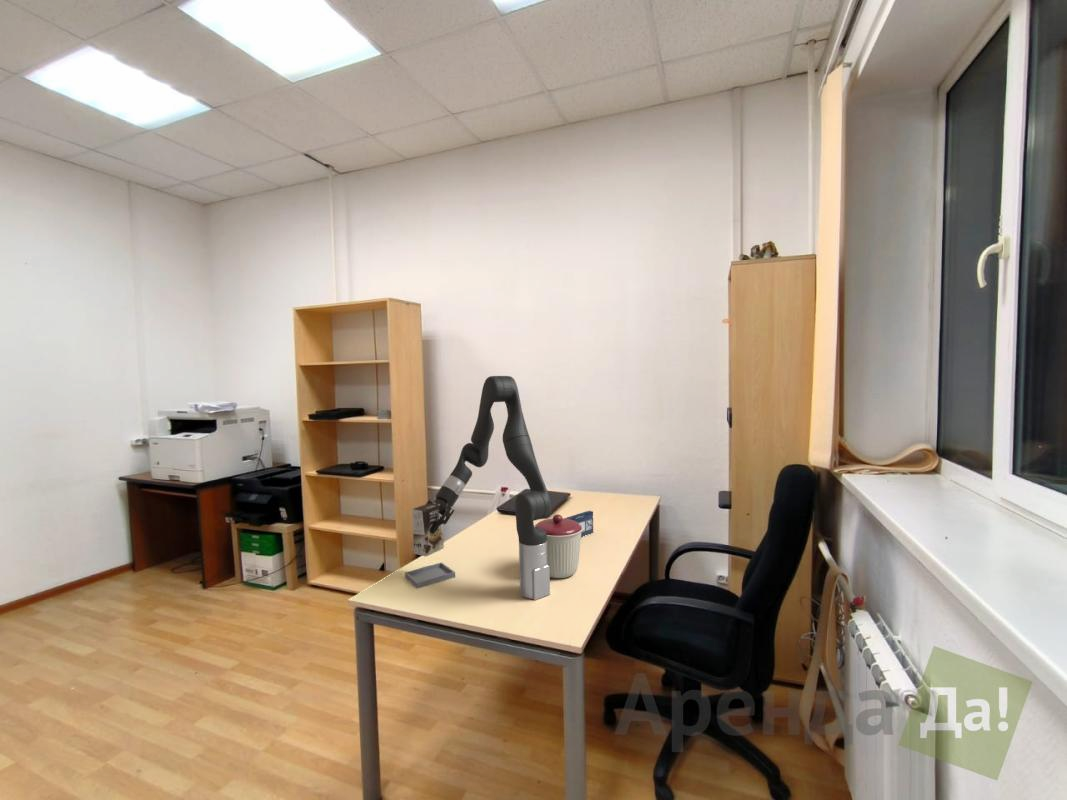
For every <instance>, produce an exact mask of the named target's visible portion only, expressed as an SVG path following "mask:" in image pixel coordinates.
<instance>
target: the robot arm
mask: <svg viewBox="0 0 1067 800" xmlns="http://www.w3.org/2000/svg"><path fill="white" fill-rule="evenodd" d="M480 395H481V397H480V402H479V407H478V414H477V419H476V422H475V425H474V428H473V432H472V434H471V437H470V441H471V442H467V443H466V444H464V446H462V448H461V451H460V455H459V458H458V460H457V463H456V465H455V467H454V468H453V470H452V471H451V473H450V474H449V475H448V477H447V478H445V479H446V480H445V481H444V482H443V484H442V485H441V487H440V488H439V489H438V491H437V492H436V494H435V500H434V501H432V500H431V499H428V500H427V502H426V503H425V505H426V504H429V503H433V504H438V505H440V504H441V505H442V506H441V508H439V510H438V512H437V514H436V522H434V523H433V525H432V526H431V528H430V529H429V531H430V532H431V533H433V534H434V533H435V532H436V531H437V529H438V527H439V526H440V525H442V524H443V525H446V524H447V523H448V521H449V520H450V518H451V517H452V515H453V514H454V512H455V510H454V508H452V507H454V505H455V503H456V502H457V500H458V499H459V498H460V496H461V494H463V491H464V489H465V488H466V485H467V484H468V482H469V481H470V479H471V478H472V476H473V471H472V470H471V469H470V467H468V466H467V464H466V462H467V463H469V464H471V465H472V466H475V467H476V468H482V467H484V466H485V465H486V464H487V462H488V460H489V445H490V441H491V439H492V436H493V433H494V429H495V423H494V420H493V416H492V408H493V405H494V403H505V406H506V407H505V408H506V412H507V419H506V422H505V426H504V429H503V433H502V443H503V446H504V447H503V448H504V451H505V455H506V457H507V459H508V460H509V462H510V463H511V464H512V465H513V466H514V467H515V468H516V470H517V471H519V472H520V474H521V475H522V476H523V477H524V479H525V481H526V482H527V484H528V488H529V489H530V491H527V492H523V493H519V494H518V495H517V496H516V498H515V501H514V511H515V514H514V515H515V522H516V523H515V524H516V526H515V527H516V531H517V536H518V564H519V565H518V566H519V592H520V593H519V594H520V596H522V597H523V598H525V599H526V598H527V599H533V600H534V601H536V600H538V599H541V598H545V597H548V596H549V595H551V586H550V585H551V584H550V578H551V577H550V574H549V566H548V561H547V533H546V531H545V530H543V529H540V528H535V527H534V525H535V523H534V521H538V520H541V519H542V520H543V519H545V518H546V519H547V518H548V517H549V516H550V515H551V514H552V501H551V497H550V494H549V492H548V489H547V487H546V484H545V482H544V479H543V476H542V473H541V471H540V468H539V465H538V462H537V458H536V456H535V451H534V448H533V444H532V440H531V437H530V434H529V431H528V428H527V425H526V421H525V417H524V413H523V408H522V404H521V399H520V393H519V388H518V385H517V382H516V380H515V378H514V377H512V376H510V375H492V376H488V377H487V378H486V379H485V380H484V383H483V385H482V388H481V394H480Z"/></svg>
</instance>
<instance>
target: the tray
mask: <svg viewBox="0 0 1067 800" xmlns="http://www.w3.org/2000/svg"><path fill="white" fill-rule="evenodd" d="M404 578H405V579H407V580H408V581H409V582H410V583H411V584H412V586H414V587H415V588H416V589H421V588H424V587H426V586H431V585H434V584H438V583H441V582H443V581H446V580H447V581H448V580H450V579H453V578H456V571H454V570H453V569H452V568H450V567H449V566H447V565H446V564H444V563H443V562H442V561H441V562H438V563H435V564H430V565H426V566H423V567H420V568H416V569H413V570H410V571H409V570H408V571H406V572H404Z"/></svg>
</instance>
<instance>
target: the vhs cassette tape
mask: <svg viewBox="0 0 1067 800" xmlns="http://www.w3.org/2000/svg"><path fill="white" fill-rule="evenodd" d="M564 519H570V520H574V521H576V522H578V523H579V524H581V525H582V526H583V531H582V532H581V538H584V537H586V536H585V535H587V536H589V535H588V534H590V535H591V533H593V534H594V511H592V510H586V511H584V512H580V513H576V514H573V515H571V516H567V517H565V518H564ZM583 536H584V537H583Z"/></svg>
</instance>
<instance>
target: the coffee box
mask: <svg viewBox="0 0 1067 800" xmlns="http://www.w3.org/2000/svg"><path fill="white" fill-rule="evenodd" d="M441 506H442V505H441V504H440V505H438V504H433V503H429V504H426V503H425V504H422V505H420V506H417V507H414V508H412V535H413V536H412V537H413V554H414V555H419V556H422V557H428V556H431V555H432V554H433V555H434V553H437V552H440V551H441V550H444V548H445V544H444V542H445V541H444V524H442V525H440V526H439V527H438V529H437V531H436V532H435V533H434V534H433V533H431V532H430V531H429V529H430V528H431V526H432V525H433V523H434V522H436V514H437V512H438V510H439V508H441Z"/></svg>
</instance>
